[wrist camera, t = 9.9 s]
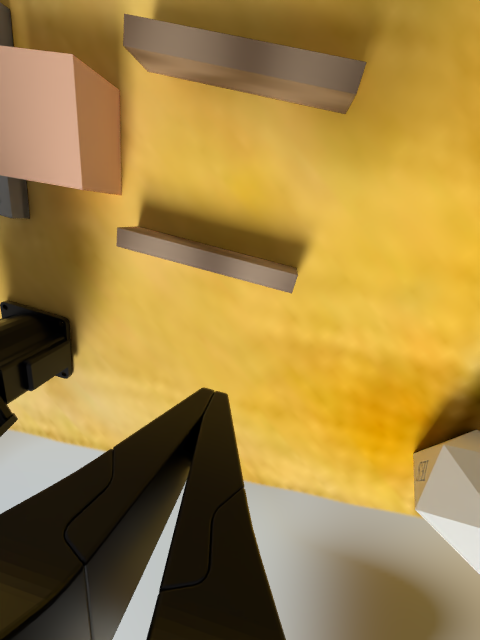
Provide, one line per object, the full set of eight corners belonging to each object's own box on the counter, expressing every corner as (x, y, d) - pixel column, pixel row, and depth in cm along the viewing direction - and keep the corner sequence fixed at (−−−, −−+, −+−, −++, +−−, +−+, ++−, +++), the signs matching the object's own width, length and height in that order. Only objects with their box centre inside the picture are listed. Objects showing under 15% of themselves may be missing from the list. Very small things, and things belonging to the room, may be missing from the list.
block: (48, 182, 19) (-9, 173, 15) (36, 80, 17) (-34, 41, 13) (123, 195, 19) (82, 189, 15) (121, 91, 16) (72, 54, 13)
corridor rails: (136, 242, 19) (116, 246, 17) (149, 45, 15) (124, 13, 13) (291, 284, 19) (291, 293, 16) (353, 87, 14) (366, 62, 12)
